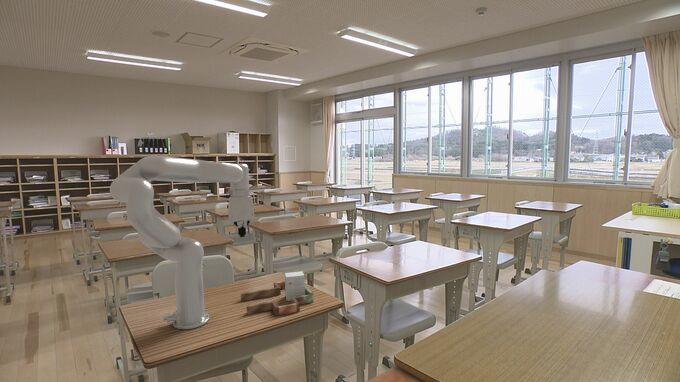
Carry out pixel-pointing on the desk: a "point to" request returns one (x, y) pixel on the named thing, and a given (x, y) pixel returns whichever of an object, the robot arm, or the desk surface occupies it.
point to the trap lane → (272, 305)
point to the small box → (294, 285)
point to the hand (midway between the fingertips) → (242, 236)
